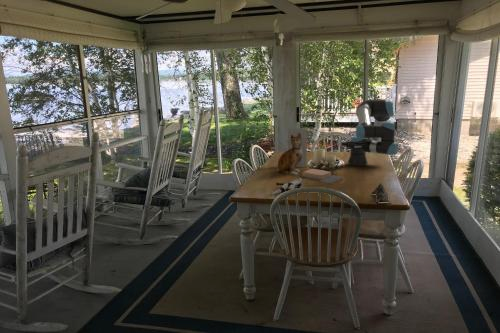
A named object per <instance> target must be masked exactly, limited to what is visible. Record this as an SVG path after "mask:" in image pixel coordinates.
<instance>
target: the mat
mask: <svg viewBox="0 0 500 333" xmlns="http://www.w3.org/2000/svg"><path fill="white" fill-rule="evenodd" d="M299 178H301V179H305V180H312V181H317V182H323V183H326V184H331V183H333V182H336V181H338V180H340V179H343V178H344V177H343V176H338V175H332V174H331V176H330V177H328V178H325V179H323V180H320V179H314V178H309V177H303V176H302V175H301V176H299Z"/></svg>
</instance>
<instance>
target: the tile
mask: <svg viewBox="0 0 500 333" xmlns="http://www.w3.org/2000/svg"><path fill="white" fill-rule="evenodd" d="M331 175H332V171H327V170H322V169H315V168H310V169H307V170H304V171H302V175H301V177H302V176H303V177H309V178H314V179H320V180H323V179H325V178H328V177H330V176H331Z"/></svg>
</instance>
